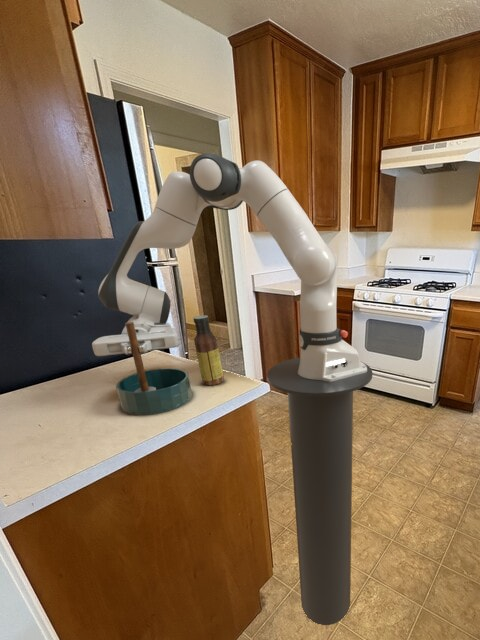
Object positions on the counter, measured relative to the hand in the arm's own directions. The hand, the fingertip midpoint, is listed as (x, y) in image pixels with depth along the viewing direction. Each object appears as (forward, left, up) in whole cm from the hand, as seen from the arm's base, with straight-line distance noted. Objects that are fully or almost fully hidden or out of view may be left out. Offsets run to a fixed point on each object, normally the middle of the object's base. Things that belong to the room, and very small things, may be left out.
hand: (135, 350), depth 88 cm
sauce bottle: (-17, -8, -15) cm, 24 cm away
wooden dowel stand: (0, -1, -12) cm, 12 cm away
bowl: (-2, -1, -14) cm, 15 cm away
